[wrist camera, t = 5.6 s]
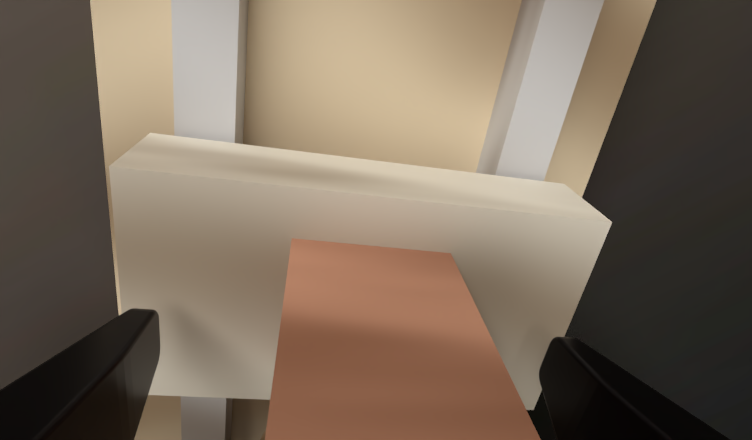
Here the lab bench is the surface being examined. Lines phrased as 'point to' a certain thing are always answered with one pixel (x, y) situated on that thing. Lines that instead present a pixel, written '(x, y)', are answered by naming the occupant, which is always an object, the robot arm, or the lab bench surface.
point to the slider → (350, 286)
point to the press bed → (362, 99)
